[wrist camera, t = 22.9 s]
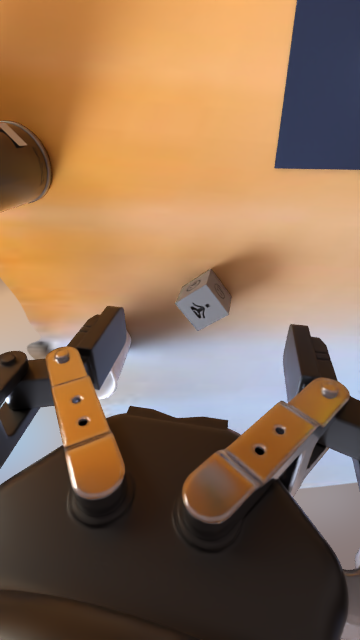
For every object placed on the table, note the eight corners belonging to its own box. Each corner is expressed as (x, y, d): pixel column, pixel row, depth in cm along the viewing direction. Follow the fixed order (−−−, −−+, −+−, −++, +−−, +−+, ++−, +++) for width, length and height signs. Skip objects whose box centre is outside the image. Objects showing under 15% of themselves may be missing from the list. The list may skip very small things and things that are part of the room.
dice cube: (182, 286, 46) (174, 303, 42) (210, 268, 43) (206, 284, 39) (202, 312, 47) (197, 331, 43) (231, 296, 45) (228, 314, 41)
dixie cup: (113, 307, 50) (84, 344, 42) (149, 344, 52) (128, 386, 44) (81, 331, 54) (49, 370, 46) (116, 365, 56) (91, 407, 48)
